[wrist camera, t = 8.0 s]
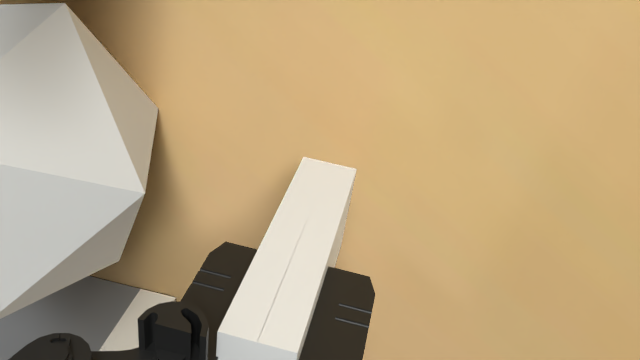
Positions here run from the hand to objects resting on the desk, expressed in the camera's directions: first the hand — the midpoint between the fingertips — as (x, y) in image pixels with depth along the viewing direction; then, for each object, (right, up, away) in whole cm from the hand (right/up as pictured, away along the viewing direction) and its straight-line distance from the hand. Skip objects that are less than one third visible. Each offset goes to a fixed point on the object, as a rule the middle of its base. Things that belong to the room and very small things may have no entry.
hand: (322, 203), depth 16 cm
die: (-8, +3, +3) cm, 9 cm away
